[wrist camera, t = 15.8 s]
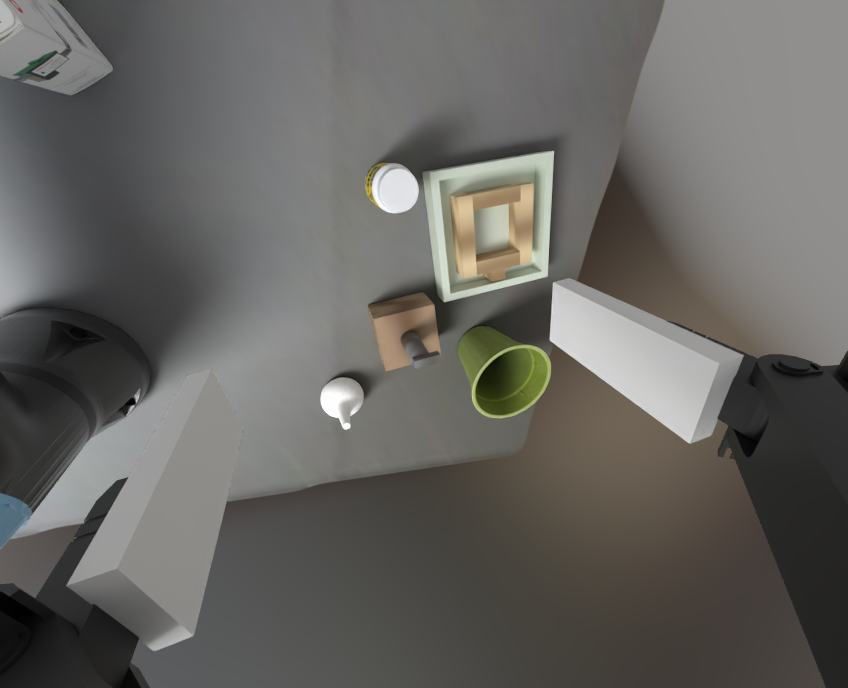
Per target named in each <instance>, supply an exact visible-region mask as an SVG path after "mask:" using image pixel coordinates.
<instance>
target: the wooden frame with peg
mask: <svg viewBox="0 0 848 688" xmlns="http://www.w3.org/2000/svg"><path fill="white" fill-rule="evenodd" d="M533 196H534V183H529V182H517V183H512V184H507V185H501V186H496V187H491V188H485V189H480V190H475V191H469V192H464V193H459V194H454V195H449V198H450V209H451V220H452V231H453V242H454V253H455V265H456V272H457V273H458V274H459V275H461V276H462V277H463V278H468V277H472V276H476V275H481V274H483V276H485V277H486V278H488V279H489V280H491V281H492V282H493V281H497V280H501V279H505V278H506V270H505V269H506V268H510V267H514V266H518V265H522V264H527V263H531V262H532V233H533ZM504 204H509V247H508V248H504V249H499V250H495V251H491V252H486V253H482V254H477V255H476V249H475V232H474V215H473V211H474V210H479V209H484V208H489V207H494V206H499V205H504Z"/></svg>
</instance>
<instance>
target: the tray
mask: <svg viewBox="0 0 848 688" xmlns="http://www.w3.org/2000/svg"><path fill="white" fill-rule="evenodd" d="M553 161H554V151H543V152H535V153H529V154H523V155H518V156H512V157H506V158H500V159H494V160H488V161H483V162H477V163H471V164H465V165H459V166H454V167H448V168H442V169H436V170H430V171H425V172H422V175H423V183H424V191H425V199H426V207H427V216H428V224H429V232H430V240H431V248H432V256H433V264H434V272H435V281H436V289H437V295H438V296H439V297H440V298H441V299H442V300H443V302H448V301H452V300H456V299H460V298H464V297H468V296H472V295H476V294H480V293H484V292H488V291H492V290H496V289H500V288H504V287H508V286H512V285H516V284H520V283H524V282H528V281H532V280H536V279H540V278H544V277H548V258H549V238H550V219H551V200H552V181H553ZM517 182H529V183H534V196H533V233H532V262H531V263H527V264H522V265H518V266H514V267H510V268H506V269H505V270H506V278H505V279H501V280H497V281H493V282H492V281H491V280H489V279H488V278H486V277H485V276H483V274H481V275H476V276H472V277H468V278H463V277H462V276H461V275H459V274H458V273H457V272H456V265H455V253H454V242H453V231H452V220H451V209H450V198H449V195H454V194H459V193H464V192H469V191H475V190H480V189H485V188H491V187H496V186H501V185H507V184H512V183H517ZM473 215H474V232H475V249H476V255H477V254H482V253H486V252H491V251H495V250H499V249H504V248H508V247H509V204H504V205H499V206H494V207H489V208H484V209H479V210H474V211H473Z"/></svg>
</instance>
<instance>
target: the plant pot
mask: <svg viewBox="0 0 848 688" xmlns="http://www.w3.org/2000/svg"><path fill="white" fill-rule="evenodd" d="M458 355H459V358H460V360H461V362H462V365H463V367H464V369H465V372H466V374H467V376H468V379H469V381H470V386H471V389H472V400H473V403H474V406H475V407H476V409H477V410H478V411H479V412H480V413H482V414H483V415H485V416H487V417H491V418H506V417H510V416H514V415H516V414H518V413H520V412H522V411H524V410H526V409H527V408H529V407H530V406H531V405H532V404H534V403H535V402H536V401H537V400H538V398H539V397H540V396H541V395H542V393H543V392H544V390H545V389H546V387H547V385H548V382H549V379H550V375H551V364H550V360H549V358H548V356H547V354H546V353H545V352H544V351H543V350H542V349H540V348H538V347H536V346H533V345H527V344H523V343H520V342H517V341H515V340H513V339H511V338H509V337H507V336H506V335H504V334H502V333H500V332H498V331H497V330H495V329H493V328H491V327H488V326H478V327H475V328H473V329H471V330H469V331H468V332H467V333H465V335H464V336H463V337H462V338H461V340H460V343H459V347H458Z"/></svg>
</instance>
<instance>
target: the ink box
mask: <svg viewBox="0 0 848 688" xmlns="http://www.w3.org/2000/svg"><path fill="white" fill-rule="evenodd" d="M112 71H113V67H112V65H111V64H110V62H109V61H108V60H107V59H106V58H105V56H104V55H103V54H102V53H101V52H100V50H99V49H98V48H97V47H96V46H95V44H94V43H93V42H92V41H91V39H90V38H89V37H88V36H87V35H86V33H85V32H84V31H83V30H82V28H81V27H80V26H79V25H78V24H77V22H76V21H75V20H74V19H73V17H72V16H71V15H70V14H69V13H68V11H67V10H66V9H65V8H64V7H63V5H62V4H61V3H60V2H59V0H0V76H2V77H6V78H9V79H13V80H17V81H20V82H24V83H27V84H31V85H34V86H38V87H41V88H45V89H48V90H52V91H56V92H59V93H63V94H66V95H70V96H71V95H74V94H76V93H78V92H80V91H82V90H83V89H85V88H87V87H89V86H90V85H92V84H94V83H95V82H97V81H99V80H100V79H101V78H103V77H105V76H106V75H108V74H109V73H111V72H112Z"/></svg>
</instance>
